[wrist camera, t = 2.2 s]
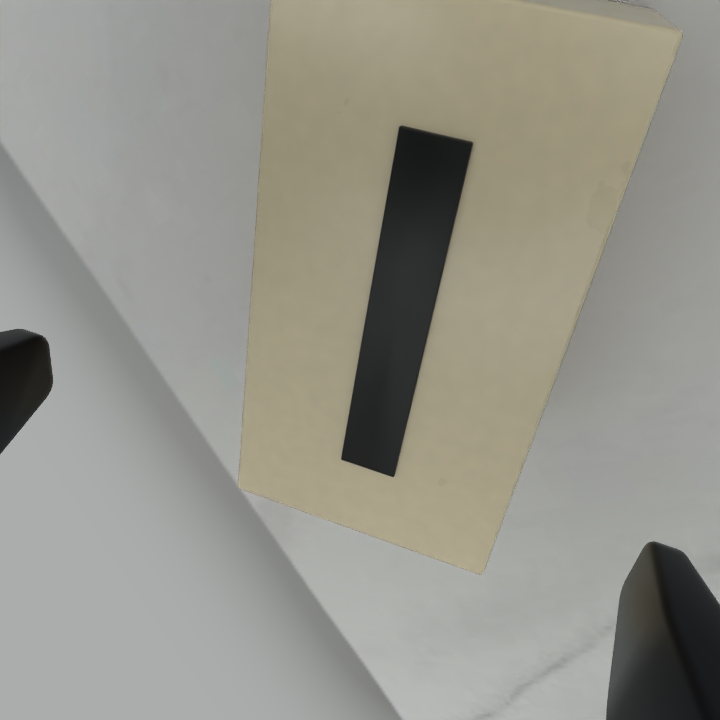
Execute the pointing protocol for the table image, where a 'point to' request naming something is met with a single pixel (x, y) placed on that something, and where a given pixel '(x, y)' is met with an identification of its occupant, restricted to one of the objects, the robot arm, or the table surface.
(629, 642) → the robot arm
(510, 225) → the toaster
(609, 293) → the table surface
